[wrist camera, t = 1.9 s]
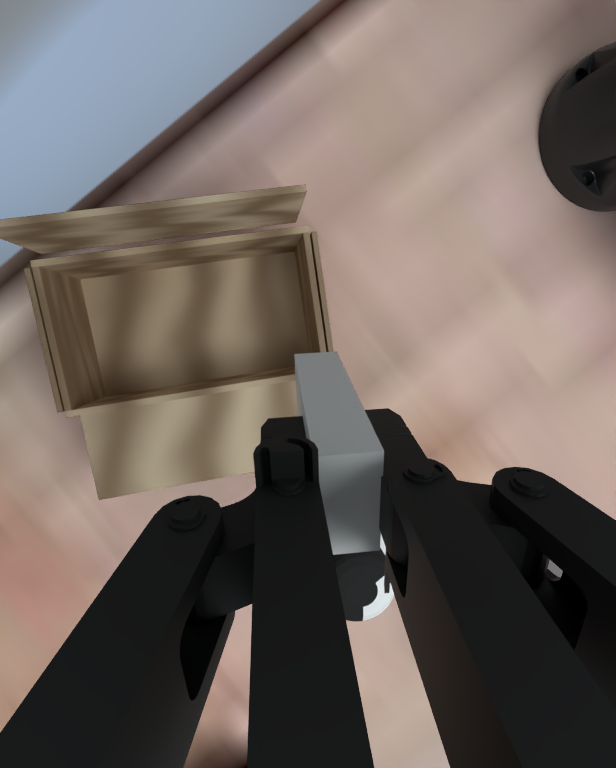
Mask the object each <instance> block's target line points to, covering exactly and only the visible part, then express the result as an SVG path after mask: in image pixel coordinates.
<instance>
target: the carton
mask: <svg viewBox="0 0 616 768" xmlns="http://www.w3.org/2000/svg"><path fill="white" fill-rule="evenodd" d="M30 262H31V267H32V269H31V268H26V269H24V271H25V275H26V280H27V284H28V288H29V293H30V297H31V301H32V305H33V310H34V314H35V318H36V322H37V327H38V331H39V335H40V340H41V344H42V348H43V352H44V357H45V361H46V365H47V370H48V374H49V378H50V382H51V387H52V391H53V395H54V400H55V404H56V408H57V412H63V411H65V414H66V418H67V417H73V416H79V415H80V419H81V423H82V428H83V432H84V437H85V441H86V445H87V450H88V454H89V459H90V463H91V467H92V472H93V476H94V481H95V485H96V490H97V494H98V498H99V500H102V499H107V498H113V497H118V496H123V495H129V494H134V493H140V492H145V491H151V490H156V489H162V488H167V487H172V486H178V485H183V484H189V483H194V482H200V481H205V480H211V479H216V478H221V477H227V476H232V475H238V474H243V473H249V472H254V471H255V469H254V459H253V453H254V450H255V448H256V447H257V446H258V445H259V444H260V440H261V427H262V426H263V424H264V423H265V422H266V421H267V419H268V418H280V417H294V416H297V399H296V379H295V358H294V354H304V353H320V352H333V345H332V337H331V330H330V323H329V316H328V309H327V302H326V295H325V288H324V281H323V273H322V266H321V259H320V252H319V245H318V238H317V232H311V234H310V233H309V226H302V227H294V228H286V229H278V230H270V231H262V232H254V233H246V234H238V235H230V236H222V237H214V238H206V239H198V240H190V241H182V242H174V243H166V244H158V245H150V246H142V247H134V248H126V249H118V250H110V251H102V252H94V253H86V254H78V255H70V256H62V257H54V258H46V259H38V260H30Z"/></svg>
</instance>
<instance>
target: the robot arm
mask: <svg viewBox="0 0 616 768" xmlns="http://www.w3.org/2000/svg"><path fill="white" fill-rule="evenodd" d="M540 149H541V155H542V159H543V162H544V166H545V168H546V171H547V173H548V175H549V177H550V179H551V180H552V182H553V183H554V185H555V186H556V187H557V189H558V190H559V191H560V192H561V193H562V194H563V195H564V196H565V197H566V198H567V199H569V200H570V201H572V202H573V203H575V204H577V205H579V206H581V207H583V208H586V209H589V210H594V211H613V210H616V42H614V43H611V44H609V45H606V46H604V47H601V48H599V49H597V50H596V51H594V52H592V53H591V54H589V55H588V56H586V57H585V58H584V59H582V60H581V61H580V62H579V63H578V64H576V65H575V66H574V67H573V68H572V69H570V70H569V71H568V72H567V73H566V74H565V75H564V76H563V77H562V78H561V79H560V80H559V81H558V83H557V84H556V85H555V87H554V88H553V90H552V92H551V93H550V95H549V97H548V99H547V102H546V104H545V107H544V110H543V114H542V118H541V124H540ZM294 358H295V379H296V399H297V416H294V417H280V418H268V419H267V421H266V422H265V423H264V424H263V426H262V427H261V440H260V444H259V445H258V446H257V447H256V448H255V450H254V453H253V459H254V469H255V479H256V489H255V491H254V492H253V493H252V494H250V495H249V496H248V497H246V498H245V499H243V500H241V501H239V502H237V503H234V504H231V505H228V506H225V507H222V508H220V505H219V503H218V502H216V501H215V500H213V499H212V498H210V497H205V496H200V495H198V496H186V497H183V498H179V499H176V500H174V501H172V502H170V503H168V504H166V505H165V506H163V507H162V508H161V509H160V510H159V511H158V512H157V513H156V514H155V515H154V516H153V518H152V519H151V521H150V522H149V523H148V525H147V526H146V528H145V529H144V531H143V532H142V533H141V535H140V536H139V538H138V539H137V540H136V542H135V543H134V545H133V546H132V548H131V549H130V550H129V552H128V553H127V555H126V556H125V557H124V559H123V560H122V562H121V563H120V564H119V566H118V567H117V569H116V570H115V572H114V573H113V574H112V576H111V577H110V579H109V580H108V581H107V583H106V584H105V586H104V587H103V589H102V590H101V591H100V593H99V594H98V596H97V597H96V598H95V600H94V601H93V603H92V604H91V605H90V607H89V608H88V610H87V611H86V613H85V614H84V615H83V617H82V618H81V620H80V621H79V622H78V624H77V625H76V627H75V628H74V630H73V631H72V632H71V634H70V635H69V637H68V638H67V639H66V641H65V642H64V644H63V645H62V646H61V648H60V649H59V651H58V652H57V654H56V655H55V656H54V658H53V659H52V661H51V662H50V663H49V665H48V666H47V668H46V669H45V670H44V672H43V673H42V675H41V676H40V678H39V679H38V680H37V682H36V683H35V685H34V686H33V687H32V689H31V690H30V692H29V693H28V695H27V696H26V697H25V699H24V700H23V702H22V703H21V704H20V706H19V707H18V709H17V710H16V711H15V713H14V714H13V716H12V717H11V719H10V720H9V721H8V723H7V724H6V726H5V727H4V728H3V730H2V731H1V733H0V768H183V767H184V764H185V761H186V758H187V755H188V752H189V749H190V746H191V743H192V740H193V738H194V735H195V732H196V729H197V726H198V723H199V720H200V717H201V714H202V711H203V708H204V705H205V702H206V699H207V696H208V694H209V691H210V688H211V685H212V682H213V679H214V676H215V673H216V670H217V667H218V664H219V661H220V658H221V655H222V652H223V649H224V647H225V644H226V641H227V638H228V635H229V632H230V629H231V626H232V623H233V620H234V616H235V610H238V609H240V608H243V607H245V606H248V605H250V604H252V603H253V604H252V635H251V665H250V695H249V725H248V755H247V768H374V764H373V759H372V754H371V749H370V743H369V738H368V733H367V728H366V723H365V718H364V712H363V707H362V702H361V697H360V692H359V686H358V681H357V676H356V671H355V666H354V661H353V655H352V650H351V645H350V640H349V635H348V629H347V624H346V619H345V614H344V609H343V604H342V598H341V593H340V588H339V583H338V578H337V573H336V567H335V562H334V557H333V555H337V554H347V553H358V552H368V551H379V550H380V537H381V535H382V538H383V541H384V544H385V547H386V554H385V574H384V593H389V591H390V583H391V586H392V589H393V592H394V595H395V598H396V601H397V604H398V608H399V611H400V614H401V617H402V620H403V623H404V626H405V629H406V632H407V635H408V638H409V641H410V645H411V648H412V651H413V654H414V657H415V660H416V663H417V666H418V669H419V672H420V675H421V679H422V682H423V685H424V688H425V691H426V694H427V697H428V700H429V703H430V706H431V709H432V712H433V716H434V719H435V722H436V725H437V728H438V731H439V734H440V737H441V740H442V743H443V746H444V749H445V753H446V756H447V759H448V762H449V765H450V768H616V520H614V519H613V518H611V517H610V516H608V515H607V514H605V513H604V512H602V511H601V510H599V509H598V508H596V507H595V506H593V505H592V504H591V503H589V502H588V501H586V500H585V499H583V498H582V497H580V496H579V495H577V494H576V493H574V492H573V491H571V490H570V489H568V488H567V487H565V486H564V485H562V484H561V483H559V482H558V481H556V480H555V479H553V478H551V477H549V476H548V475H546V474H544V473H542V472H538V471H535V470H532V469H529V468H522V467H511V468H504V469H502V470H499V471H497V472H496V473H495V475H494V477H493V479H492V485H486V484H478V483H470V482H464V481H459V480H456V478H455V477H454V475H453V474H452V472H451V471H450V470H449V469H448V468H447V467H446V466H445V465H443V464H441V463H439V462H437V461H435V460H432V459H428V458H427V457H426V456H425V454H424V452H423V451H422V449H421V448H420V446H419V444H418V443H417V441H416V440H415V438H414V437H413V435H411V432H410V430H409V429H408V427H406V424H405V422H404V421H403V419H402V418H401V416H400V415H398V414H396V413H395V412H393V411H392V410H390V409H388V408H387V409H373V410H364V408H363V406H362V404H361V401H360V399H359V397H358V395H357V393H356V391H355V389H354V387H353V385H352V383H351V381H350V378H349V376H348V374H347V372H346V370H345V368H344V366H343V364H342V362H341V360H340V358H339V355H338V353H337V352H320V353H304V354H294ZM549 560H551V561H552V562H553V563H555V564H556V565H557V566H558V567H559V568H560V569H561V570H563V573H562V576H561V578H560V577H557V576H556V575H554V574H553V573H552V572H551V571H550V570H548V569H547V567H548V564H549Z"/></svg>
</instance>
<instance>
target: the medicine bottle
mask: <svg viewBox="0 0 616 768" xmlns="http://www.w3.org/2000/svg"><path fill="white" fill-rule="evenodd" d="M385 554H386V547H385V544H384V541H383V538H382V535H381V537H380V550H379V551H368V552H358V553H347V554H337V555H333V557H334V562H335V567H336V573H337V578H338V583H339V588H340V593H341V598H342V604H343V609H344V614H345V619H346V620H349V621H364V620H368V619H371V618H373V617H375V616H377V615H379V614H380V613H381V612H382V611H384V610H385V609H386V608H387V606H388V605H389V604H390V602H391V601H392V599H393V596H394V592H393V589H392V586H391V583H390V591H389V593H384V574H385Z"/></svg>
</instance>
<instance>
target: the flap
mask: <svg viewBox="0 0 616 768" xmlns="http://www.w3.org/2000/svg"><path fill="white" fill-rule="evenodd" d="M306 192H307V190H306V185H296V186H287V187H279V188H270V189H261V190H253V191H244V192H235V193H226V194H218V195H209V196H200V197H192V198H183V199H174V200H166V201H157V202H148V203H140V204H131V205H122V206H114V207H105V208H96V209H87V210H79V211H70V212H62V213H54V214H44V215H36V216H27V217H18V218H9V219H2V220H0V238H1V239H3V240H6V241H8V242H11V243H14V244H16V245H19V246H22V247H24V248H27V249H30V250H32V251H35V252H38V253H40V254H44V253H52V252H60V251H69V250H77V249H85V248H93V247H101V246H109V245H117V244H125V243H133V242H141V241H149V240H157V239H165V238H173V237H181V236H189V235H197V234H205V233H214V232H222V231H230V230H238V229H246V228H254V227H262V226H270V225H278V224H286V223H294V222H296V220H297V217H298V215H299V212H300V209H301V206H302V203H303V200H304V198H305V195H306Z"/></svg>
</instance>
